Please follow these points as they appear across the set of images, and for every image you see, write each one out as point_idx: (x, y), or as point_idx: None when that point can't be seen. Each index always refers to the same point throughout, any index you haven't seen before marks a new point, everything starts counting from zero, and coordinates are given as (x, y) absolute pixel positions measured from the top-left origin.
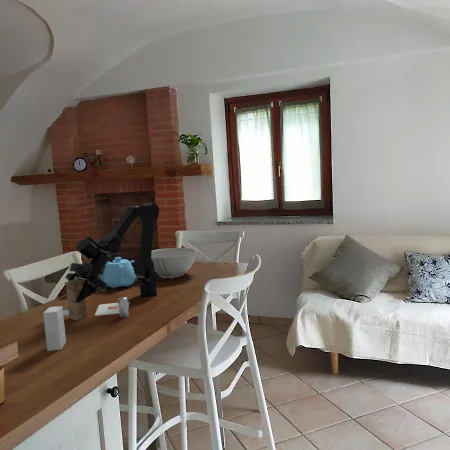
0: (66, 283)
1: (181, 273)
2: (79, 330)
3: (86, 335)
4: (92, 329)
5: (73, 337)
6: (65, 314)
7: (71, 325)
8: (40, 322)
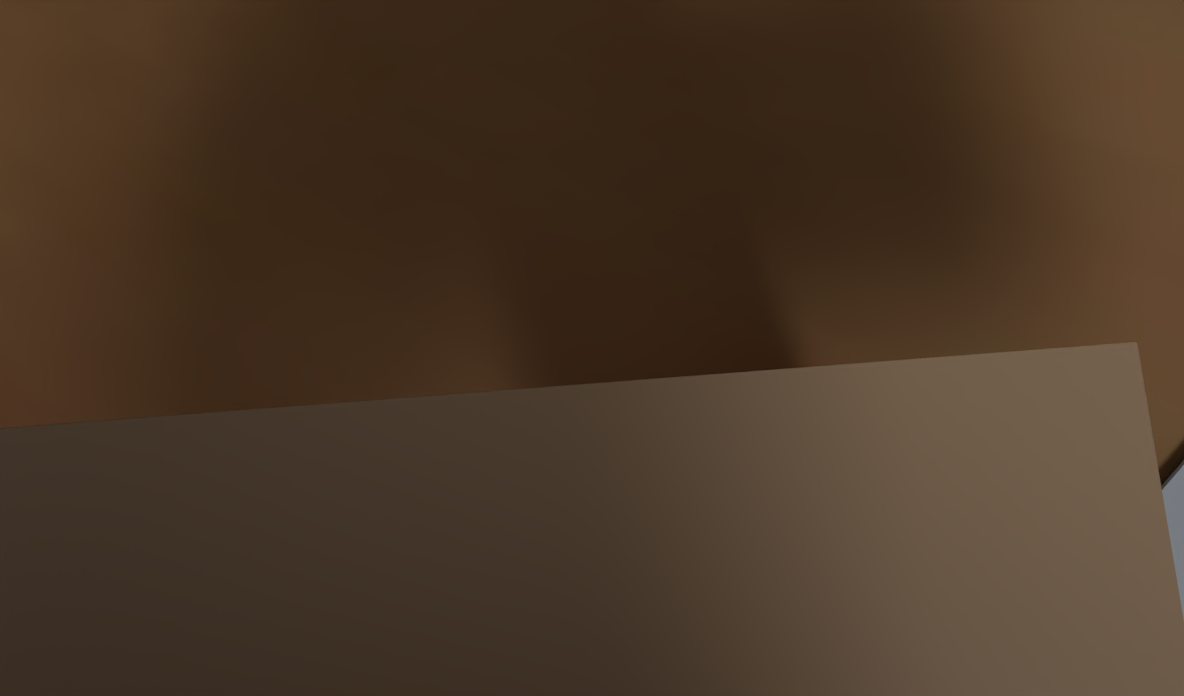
0: (710, 391)
1: None
2: (215, 272)
3: (22, 238)
4: (106, 396)
5: (95, 112)
6: (1179, 568)
7: (479, 307)
8: (1116, 43)
